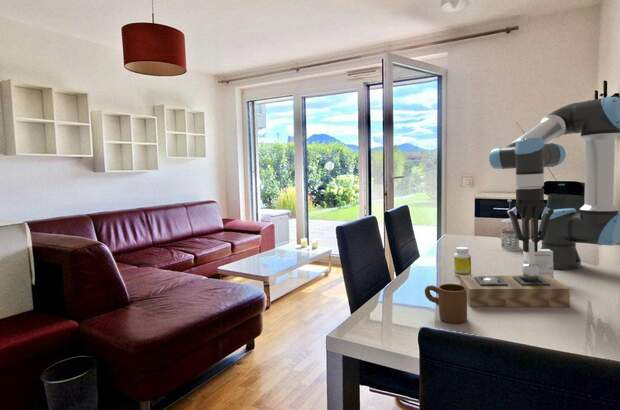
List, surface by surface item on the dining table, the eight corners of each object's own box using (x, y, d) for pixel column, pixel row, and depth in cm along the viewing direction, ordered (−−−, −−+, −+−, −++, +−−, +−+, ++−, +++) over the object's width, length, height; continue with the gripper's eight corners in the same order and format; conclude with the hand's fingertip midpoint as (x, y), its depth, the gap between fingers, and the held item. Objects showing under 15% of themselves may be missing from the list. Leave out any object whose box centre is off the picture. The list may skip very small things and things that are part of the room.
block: (548, 291, 124) (548, 273, 124) (569, 306, 111) (569, 286, 110) (460, 291, 130) (459, 274, 129) (469, 306, 116) (469, 287, 115)
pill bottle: (472, 277, 144) (472, 249, 143) (456, 277, 146) (455, 249, 145) (469, 272, 151) (468, 246, 150) (453, 273, 152) (452, 246, 151)
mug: (420, 318, 110) (419, 287, 109) (430, 309, 116) (429, 280, 115) (462, 326, 102) (461, 293, 101) (470, 317, 108) (469, 285, 107)
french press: (525, 250, 181) (525, 199, 179) (501, 251, 181) (501, 200, 179) (515, 246, 191) (514, 197, 189) (492, 247, 191) (491, 199, 189)
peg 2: (535, 279, 120) (535, 262, 120) (541, 283, 116) (541, 266, 115) (520, 279, 121) (520, 262, 120) (525, 283, 117) (525, 266, 116)
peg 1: (495, 293, 123) (495, 276, 122) (500, 297, 119) (499, 280, 118) (481, 293, 124) (481, 277, 123) (485, 297, 119) (484, 281, 119)
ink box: (549, 279, 136) (549, 248, 135) (553, 284, 131) (553, 251, 130) (523, 279, 139) (523, 248, 137) (526, 283, 134) (526, 251, 133)
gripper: (547, 186, 118) (547, 258, 120) (503, 188, 121) (504, 259, 123) (558, 187, 111) (558, 264, 113) (511, 189, 113) (512, 265, 115)
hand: (530, 261), depth 118 cm, fingers closed
